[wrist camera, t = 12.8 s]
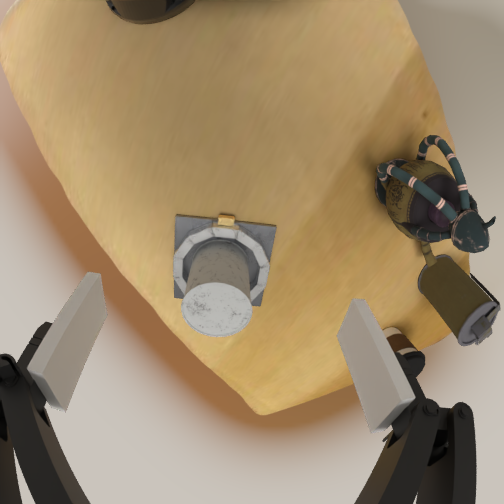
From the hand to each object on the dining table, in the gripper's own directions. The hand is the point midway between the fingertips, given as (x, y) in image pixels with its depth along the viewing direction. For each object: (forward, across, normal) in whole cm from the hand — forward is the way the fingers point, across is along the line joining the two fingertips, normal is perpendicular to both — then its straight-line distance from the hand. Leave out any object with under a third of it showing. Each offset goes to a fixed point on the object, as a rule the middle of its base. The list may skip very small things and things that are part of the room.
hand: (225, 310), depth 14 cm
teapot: (+32, +30, 0) cm, 44 cm away
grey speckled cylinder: (+31, 0, -16) cm, 35 cm away
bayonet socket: (+32, 0, -16) cm, 36 cm away
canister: (+32, +46, -14) cm, 58 cm away
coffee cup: (+32, +40, -32) cm, 60 cm away
